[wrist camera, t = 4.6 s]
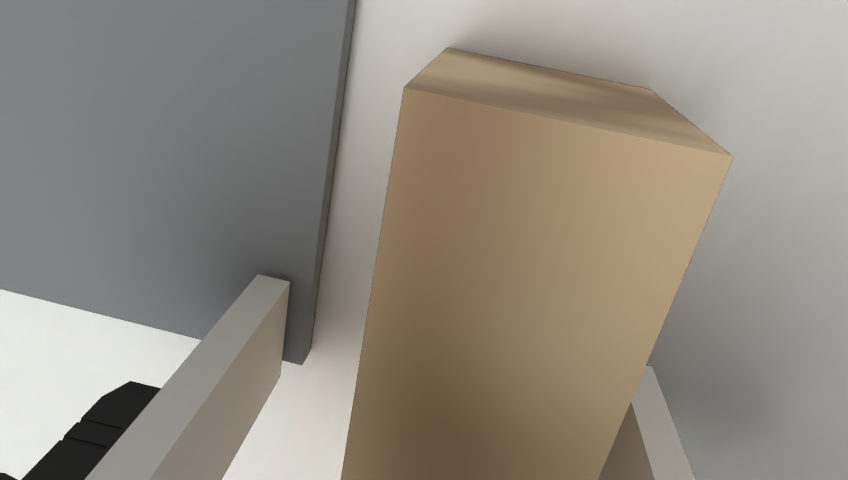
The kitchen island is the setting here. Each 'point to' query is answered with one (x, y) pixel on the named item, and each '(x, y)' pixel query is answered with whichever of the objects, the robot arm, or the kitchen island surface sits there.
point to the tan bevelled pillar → (522, 270)
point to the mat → (169, 154)
